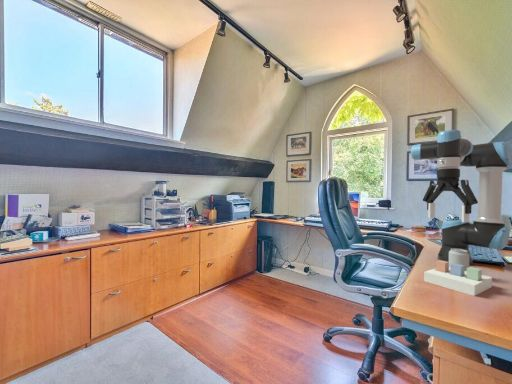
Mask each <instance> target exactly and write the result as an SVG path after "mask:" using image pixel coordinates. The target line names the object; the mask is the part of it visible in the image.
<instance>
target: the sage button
mask: <svg viewBox="0 0 512 384" xmlns="http://www.w3.org/2000/svg"><path fill="white" fill-rule="evenodd" d="M482 273H483V270H482V268H478V267H477V268H476V267H473V266H469V268H467V278H468V279H471V280H475V281H481V280H482V275H483V274H482Z"/></svg>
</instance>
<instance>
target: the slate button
mask: <svg viewBox="0 0 512 384" xmlns="http://www.w3.org/2000/svg"><path fill="white" fill-rule="evenodd" d="M464 271H465V266H464V265H460V264H455V263H453V264H450V274H452V275H456V276H460V277H463V276H464Z"/></svg>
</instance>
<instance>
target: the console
mask: <svg viewBox="0 0 512 384" xmlns="http://www.w3.org/2000/svg"><path fill="white" fill-rule="evenodd" d="M423 281H424V282H426V283H430V284H433V285H437V286H440V287H442V288H443V287H444V288H446V289H450V290H452V291H456V292H460V293H463V294H466V295H470V296H474V297H475V296H477V295H479V294H481V293H483V292H486V291H487V290H489V289H490V288H493V277H492V276H489V275H483V274H482V280H481V281H475V280H471V279H468V278H467V271H464V276H463V277H460V276H456V275H452V274H450V267H449V272H447V273H444V272H440V271H436V270H435V268H432V269H428V270H425V271H424V273H423Z"/></svg>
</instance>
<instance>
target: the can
mask: <svg viewBox="0 0 512 384" xmlns="http://www.w3.org/2000/svg"><path fill="white" fill-rule="evenodd" d="M467 252H468V251H467V250H463V249H455V248H452V249H451V250H450V251H449V267H450V264H453V263H455V264H460V265H464V266H465V271H467V268H469V267H470V265H469V257H470V255H471V254H470V255H469V254H468V253H467Z"/></svg>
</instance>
